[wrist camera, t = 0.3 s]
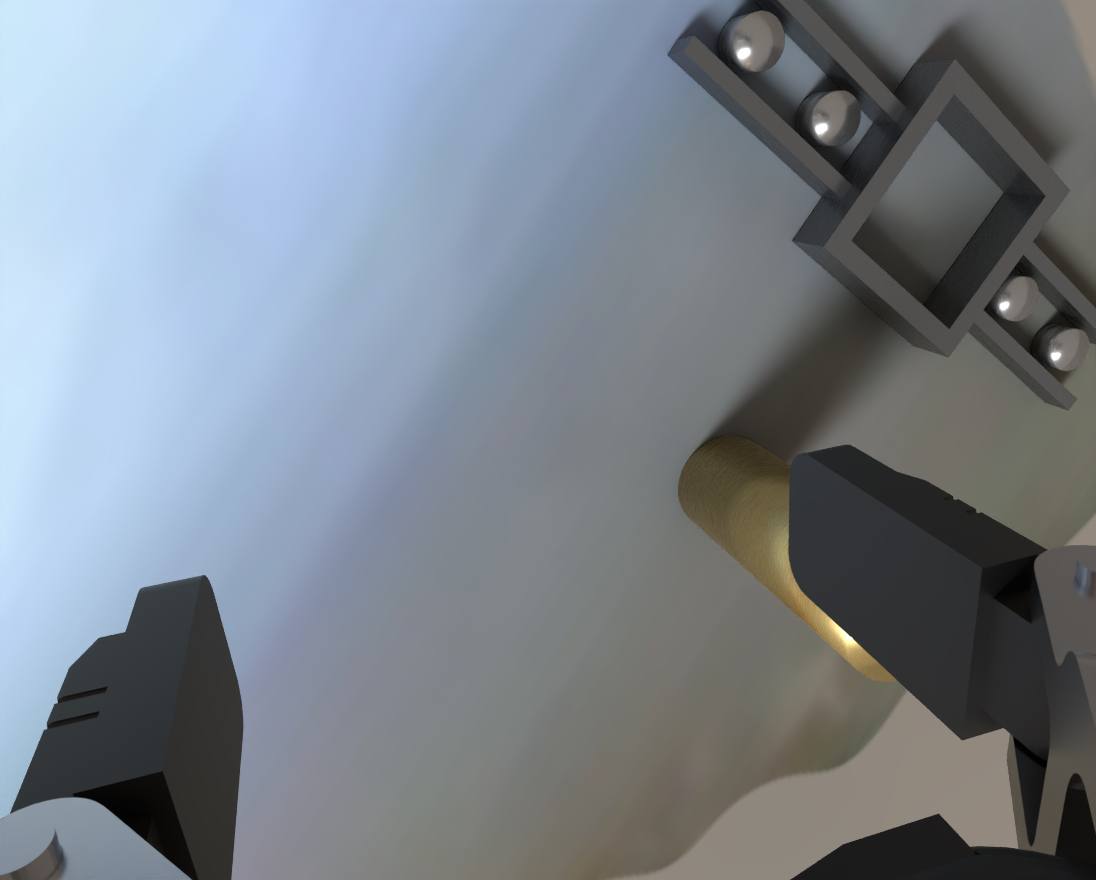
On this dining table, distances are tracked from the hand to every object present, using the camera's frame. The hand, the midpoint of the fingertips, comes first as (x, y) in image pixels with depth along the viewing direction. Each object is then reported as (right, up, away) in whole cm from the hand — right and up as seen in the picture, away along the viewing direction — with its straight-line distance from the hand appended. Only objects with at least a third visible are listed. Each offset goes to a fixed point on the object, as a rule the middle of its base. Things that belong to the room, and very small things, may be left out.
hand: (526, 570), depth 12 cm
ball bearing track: (+15, +11, +21) cm, 28 cm away
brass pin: (+7, 0, +23) cm, 24 cm away
